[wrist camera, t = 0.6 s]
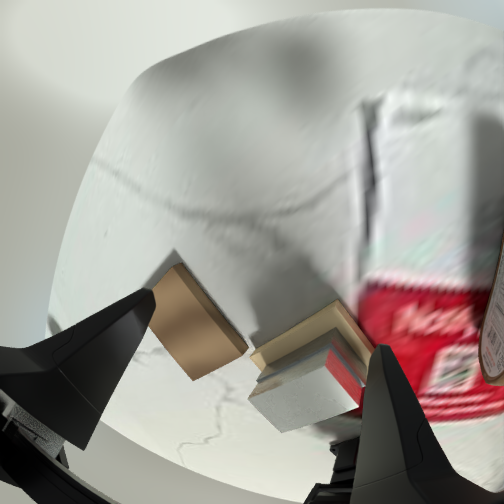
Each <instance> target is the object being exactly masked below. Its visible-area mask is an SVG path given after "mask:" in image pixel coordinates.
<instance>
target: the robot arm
mask: <svg viewBox="0 0 504 504" xmlns="http://www.w3.org/2000/svg"><path fill="white" fill-rule="evenodd" d="M155 309H156V301H155V297H154V292H153V291H152V290H151V289H148V288H141V289H139V290H138V291H136V292H134V293H132V294H130V295H128V296H126V297H125V298H123V299H121V300H119V301H117V302H115V303H113V304H112V305H110V306H108V307H106V308H104V309H102V310H101V311H99V312H97V313H95V314H93V315H91V316H90V317H88V318H86V319H84V320H82V321H80V322H79V323H77V324H76V325H73V326H71V327H70V328H68V329H66V330H64V331H62V332H60V333H58V334H56V335H54V336H52V337H50V338H47V339H45V340H43V341H41V342H39V343H36V344H34V345H32V346H29V347H26V348H10V347H3V346H0V480H1V481H3V482H6V483H8V484H11V485H13V486H16V487H19V488H21V489H23V491H24V492H26V494H28V495H29V496H30V497H31V498H32V499H33V500H34V501H35V502H36V503H37V504H120V503H118V502H116V501H115V500H113V499H111V498H110V497H108V496H106V495H104V494H103V493H101V492H100V491H98V490H97V489H95V488H93V487H92V486H91V485H89V484H88V483H86V482H85V481H83V480H82V479H80V478H79V477H78V476H76V475H75V474H73V473H72V472H71V471H69V470H68V469H69V466H68V462H67V458H66V454H65V450H64V446H63V444H64V442H65V441H66V440H67V441H68V442H70V443H71V444H73V445H75V446H77V447H78V448H80V449H81V450H83V451H84V450H85V448H86V446H87V444H88V442H89V440H90V438H91V436H92V434H93V432H94V430H95V428H96V425H97V424H98V422H99V420H100V418H101V416H102V413H103V411H104V409H105V407H106V405H107V404H108V402H109V400H110V398H111V396H112V394H113V392H114V390H115V388H116V386H117V384H118V382H119V381H120V379H121V377H122V375H123V373H124V371H125V369H126V368H127V366H128V364H129V362H130V360H131V359H132V357H133V355H134V353H135V351H136V350H137V348H138V346H139V344H140V342H141V341H142V339H143V336H144V334H145V332H146V330H147V327H148V325H149V323H150V320H151V318H152V316H153V314H154V311H155ZM330 451H331V452H332V453H333V454H334V455H335V456H336V460H335V464H334V467H333V475H332V478H331V481H330V484H321V483H316V484H315V486H314V488H312V490H311V492H310V493H309V495H308V497H307V498H306V500H305V502H304V503H303V504H504V490H503V491H501V492H498V493H493V492H490V491H487V490H485V489H484V488H482V487H480V486H478V485H476V484H474V483H473V482H471V481H469V480H467V479H465V478H464V477H462V476H460V475H459V474H458V473H457V472H456V471H455V470H454V469H453V467H452V466H451V464H450V462H449V460H448V459H447V457H446V455H445V453H444V451H443V450H442V448H441V446H440V444H439V442H438V441H437V439H436V437H435V435H434V433H433V431H432V429H431V427H430V425H429V423H428V420H427V418H425V414H424V412H423V410H422V408H421V406H420V403H419V401H418V399H417V397H416V395H415V393H414V391H413V389H412V387H411V385H410V383H409V381H408V379H407V377H406V375H405V374H404V372H403V370H402V368H401V366H400V364H399V362H398V360H397V358H396V357H395V355H394V353H393V351H392V349H391V347H390V346H389V345H387V344H378V345H377V347H376V349H375V350H374V352H373V353H372V355H371V357H370V360H369V366H368V373H367V379H366V386H365V392H364V400H363V414H362V425H361V435H360V437H359V438H356V439H353V440H349V441H346V442H343V443H340V444H336V445H333V446H331V447H330Z"/></svg>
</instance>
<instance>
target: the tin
mask: <svg viewBox="0 0 504 504" xmlns="http://www.w3.org/2000/svg"><path fill="white" fill-rule="evenodd" d="M478 357H479V363H480V367H481V372H482V375H483V378H484V380H485V382H486V383H487V384H490V385H495V386H504V232H503V239H502V245H501V250H500V255H499V260H498V265H497V269H496V273H495V278H494V282H493V285H492V289H491V293H490V296H489V300H488V303H487V307H486V310H485V313H484V317H483V321H482V325H481V331H480V337H479V348H478Z"/></svg>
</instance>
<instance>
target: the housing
mask: <svg viewBox="0 0 504 504" xmlns="http://www.w3.org/2000/svg"><path fill="white" fill-rule="evenodd" d="M366 377H367V366H366V365H365V364H364V362H363V361H362V360H361V359H360V357H359V356H358V355H357V353H356V352H355V351H354V349H353V348H352V347H351V345H350V344H349V343H348V342H347V340H346V339H345V338H344V336H343V335H342V334H341V333H340V331H339V330H338V329H337V327H335V328H333V329H331V330H330V331H328V332H326V333H324V334H323V335H321V336H319V337H318V338H316V339H314V340H312V341H311V342H309V343H307V344H305V345H303V346H302V347H300V348H298V349H296V350H294V351H292V352H291V353H289V354H287V355H285V356H283V357H281V358H279V359H277V360H275V361H273V362H271V363H269V364H267V365H266V366H265V368H264V369H263V371H262V372H261V374H260V375H259V377H258V378H257V380H256V381H257V382H258V384H257V385H256V387H255V388H254V390H253V391H252V393H251V394H250V396H249V397H248V400H249V401H250V402H251V403H252V404H253V405H254V407H255V408H256V409H257V410H258V411H259V412H260V413H261V414H262V415H263V416H264V417H265V418H266V419H267V420H268V421H269V422H270V423H271V424H272V425H274V426H275V427H276V428H277V429H278V430H279V431H280V432H281V433H283V432H287V431H290V430H294V429H297V428H301V427H304V426H307V425H311V424H314V423H317V422H320V421H323V420H326V419H328V418H331V417H334V416H337V415H339V414H342V413H345V412H347V411H350V410H352V409H355V408H357V407H359V404H360V397H361V390H362V387H364V386H366Z"/></svg>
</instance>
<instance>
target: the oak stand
mask: <svg viewBox="0 0 504 504" xmlns="http://www.w3.org/2000/svg"><path fill="white" fill-rule="evenodd" d="M335 327H337V329H338V330H339V331H340V333H341V334H342V335H343V336H344V338H345V339H346V340H347V342H348V343H349V344H350V345H351V347H352V348H353V349H354V351H355V352H356V353H357V355H358V356H359V357H360V359H361V360H362V361H363V362H364V364H365V365H366V366H367V373H368V366H369V360H370V357H371V355H372V353H373V352H374V350H375V349H374V347H373V346H372V345H371V343H370V342H369V340H368V339H367V338H366V336H365V335H364V334H363V332H362V331H361V330H360V328H359V327H358V326H357V324H356V323H355V322H354V320H353V319H352V318H351V316H350V315H349V314H348V312H347V311H346V310H345V308H344V307H343V306H342V304H341V303H340V302H339V300H338V299H337V300H335V301H334V302H332V303H331V304H329V305H328V306H326V307H325V308H323V309H322V310H320V311H319V312H317V313H315V314H314V315H312V316H311V317H309V318H307V319H306V320H304V321H303V322H301V323H299V324H298V325H296V326H295V327H293V328H291V329H290V330H288V331H286V332H285V333H283V334H281V335H280V336H278V337H276V338H275V339H273V340H271V341H269V342H268V343H266V344H264V345H262V346H261V347H259V348H257V349H255V351H254V352H253V353H252V355H251V356H250V357H249V358H250V359H251V360H252V361H253V362H254V363H255V365H256V366H257V367H258V368H259V369H260V370H261V371H263V369H264V368H265V366H266V365H267V364H269V363H271V362H273V361H275V360H277V359H279V358H281V357H283V356H285V355H287V354H289V353H291V352H292V351H294V350H296V349H298V348H300V347H302V346H303V345H305V344H307V343H309V342H311V341H312V340H314V339H316V338H318V337H319V336H321V335H323V334H324V333H326V332H328V331H330V330H331V329H333V328H335ZM366 379H367V377H366Z"/></svg>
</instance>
